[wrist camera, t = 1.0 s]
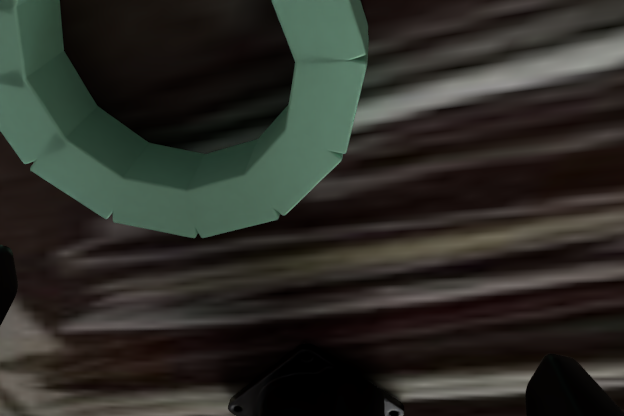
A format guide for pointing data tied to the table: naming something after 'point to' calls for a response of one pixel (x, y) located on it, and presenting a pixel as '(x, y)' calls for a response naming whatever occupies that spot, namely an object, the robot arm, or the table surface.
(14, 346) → the table surface
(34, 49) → the ring
